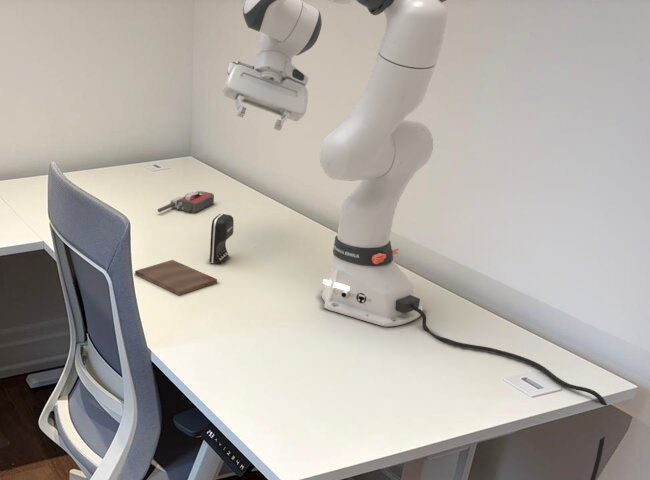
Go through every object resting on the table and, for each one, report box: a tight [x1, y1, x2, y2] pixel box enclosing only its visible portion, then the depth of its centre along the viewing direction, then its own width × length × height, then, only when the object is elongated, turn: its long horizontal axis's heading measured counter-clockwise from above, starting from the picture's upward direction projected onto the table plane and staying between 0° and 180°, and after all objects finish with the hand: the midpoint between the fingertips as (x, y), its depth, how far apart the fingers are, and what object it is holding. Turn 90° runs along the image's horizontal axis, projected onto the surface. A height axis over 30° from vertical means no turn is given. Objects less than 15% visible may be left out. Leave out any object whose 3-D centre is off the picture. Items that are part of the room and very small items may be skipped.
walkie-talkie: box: [157, 190, 215, 214], centre depth 248 cm, size 9×4×20 cm
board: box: [134, 259, 218, 296], centre depth 203 cm, size 16×12×1 cm
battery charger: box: [209, 213, 235, 265], centre depth 211 cm, size 7×4×11 cm, turn 153°
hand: (259, 122), depth 199 cm, fingers open, 8 cm apart
